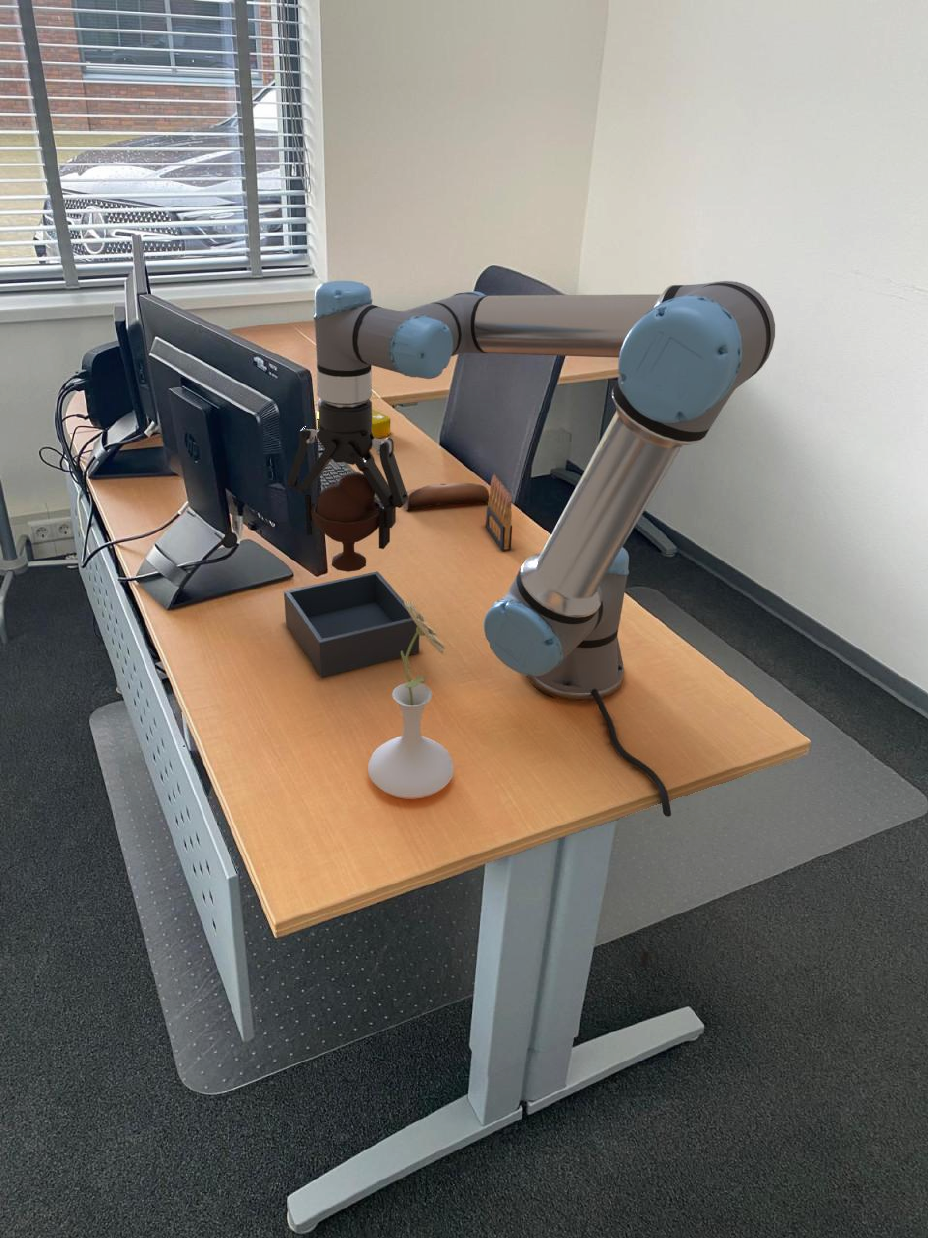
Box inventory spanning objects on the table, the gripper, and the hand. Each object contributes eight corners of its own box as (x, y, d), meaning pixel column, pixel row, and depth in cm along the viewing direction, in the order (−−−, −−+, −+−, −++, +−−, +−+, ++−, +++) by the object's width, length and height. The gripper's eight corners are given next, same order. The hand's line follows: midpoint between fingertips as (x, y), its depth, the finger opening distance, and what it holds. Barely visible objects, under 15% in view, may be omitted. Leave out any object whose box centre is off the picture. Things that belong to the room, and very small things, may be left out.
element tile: (309, 429, 227) (308, 411, 224) (357, 417, 236) (357, 399, 233) (345, 447, 218) (344, 428, 215) (393, 434, 227) (393, 416, 224)
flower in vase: (456, 806, 117) (465, 644, 104) (367, 808, 116) (364, 645, 103) (450, 740, 128) (457, 587, 115) (368, 741, 127) (366, 587, 114)
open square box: (419, 652, 146) (419, 618, 142) (321, 678, 139) (319, 642, 136) (377, 603, 158) (377, 571, 155) (286, 624, 151) (283, 591, 148)
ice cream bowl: (357, 540, 148) (355, 453, 140) (397, 567, 141) (398, 478, 133) (300, 557, 142) (295, 468, 134) (339, 587, 135) (336, 495, 127)
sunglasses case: (477, 486, 201) (483, 468, 195) (485, 513, 198) (491, 495, 192) (398, 494, 196) (402, 475, 190) (404, 521, 193) (409, 503, 187)
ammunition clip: (511, 550, 177) (515, 494, 171) (502, 551, 177) (506, 494, 170) (493, 526, 186) (497, 471, 179) (485, 527, 185) (488, 472, 179)
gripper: (433, 402, 128) (428, 541, 139) (280, 379, 133) (289, 514, 145) (415, 419, 121) (412, 563, 133) (256, 394, 127) (267, 535, 138)
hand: (348, 538), depth 139 cm, fingers closed on ice cream bowl, 11 cm apart
